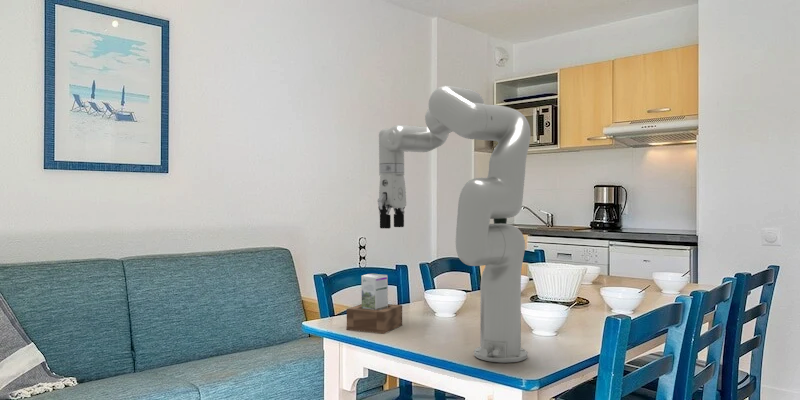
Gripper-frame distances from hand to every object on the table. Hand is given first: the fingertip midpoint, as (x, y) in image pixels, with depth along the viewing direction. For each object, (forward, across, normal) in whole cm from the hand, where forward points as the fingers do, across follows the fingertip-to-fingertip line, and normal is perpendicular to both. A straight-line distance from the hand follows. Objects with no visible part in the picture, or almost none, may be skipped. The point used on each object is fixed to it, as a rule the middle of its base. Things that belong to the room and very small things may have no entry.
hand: (392, 227), depth 178 cm
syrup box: (+28, -6, +3) cm, 29 cm away
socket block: (+29, -5, +3) cm, 30 cm away
